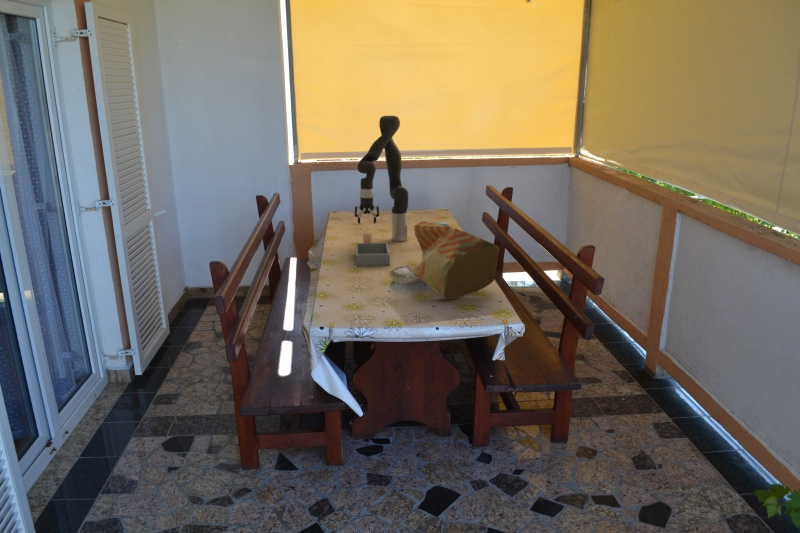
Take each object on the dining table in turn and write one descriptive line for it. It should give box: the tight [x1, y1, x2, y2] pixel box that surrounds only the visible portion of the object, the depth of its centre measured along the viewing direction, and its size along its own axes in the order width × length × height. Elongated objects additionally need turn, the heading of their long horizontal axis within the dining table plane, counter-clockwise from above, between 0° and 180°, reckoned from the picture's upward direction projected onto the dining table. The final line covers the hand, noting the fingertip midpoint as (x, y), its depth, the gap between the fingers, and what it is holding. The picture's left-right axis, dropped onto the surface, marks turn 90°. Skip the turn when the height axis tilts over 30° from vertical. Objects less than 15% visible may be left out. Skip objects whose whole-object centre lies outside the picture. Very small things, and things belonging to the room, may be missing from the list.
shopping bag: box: [406, 220, 501, 300], centre depth 304 cm, size 36×32×40 cm
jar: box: [362, 232, 373, 243], centre depth 374 cm, size 5×5×9 cm
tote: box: [355, 242, 391, 267], centre depth 354 cm, size 18×24×6 cm
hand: (366, 223), depth 371 cm, fingers open, 8 cm apart
